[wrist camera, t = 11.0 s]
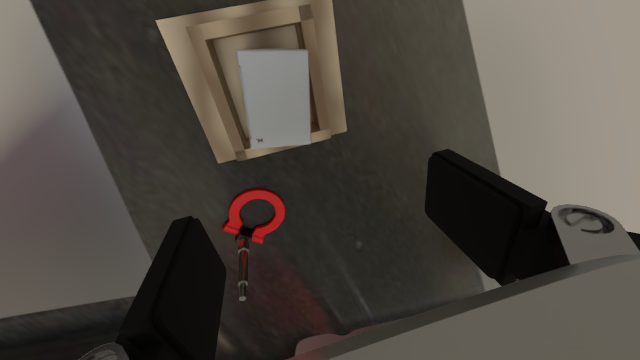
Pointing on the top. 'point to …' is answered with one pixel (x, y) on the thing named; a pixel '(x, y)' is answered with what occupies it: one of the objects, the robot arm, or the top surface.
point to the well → (223, 72)
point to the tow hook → (246, 235)
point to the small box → (276, 96)
